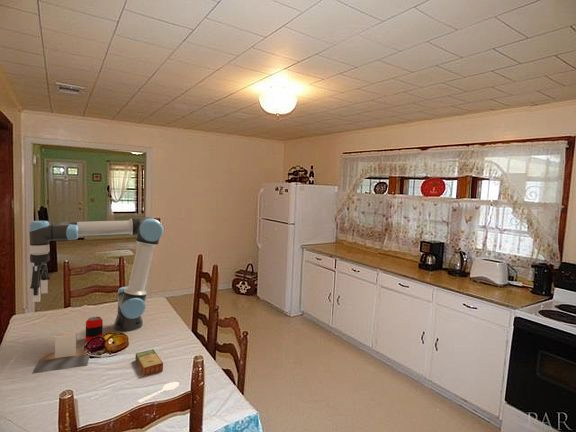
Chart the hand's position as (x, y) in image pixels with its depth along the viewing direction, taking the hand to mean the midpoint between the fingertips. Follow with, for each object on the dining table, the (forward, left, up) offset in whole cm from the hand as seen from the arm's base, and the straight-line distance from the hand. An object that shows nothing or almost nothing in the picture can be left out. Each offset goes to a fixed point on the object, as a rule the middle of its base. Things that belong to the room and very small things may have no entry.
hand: (40, 297), depth 163 cm
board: (-12, +18, -26) cm, 34 cm away
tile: (-12, +14, -25) cm, 31 cm away
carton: (-47, +33, -26) cm, 63 cm away
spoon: (-50, +56, -26) cm, 79 cm away
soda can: (-22, -2, -26) cm, 34 cm away
